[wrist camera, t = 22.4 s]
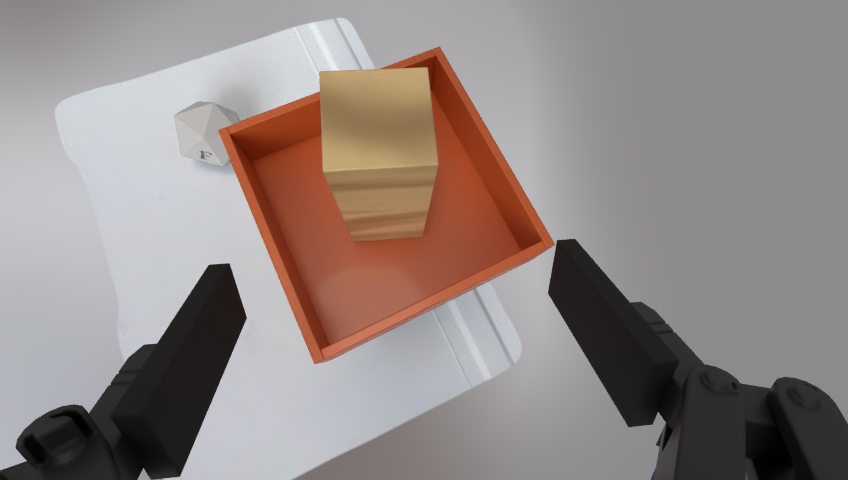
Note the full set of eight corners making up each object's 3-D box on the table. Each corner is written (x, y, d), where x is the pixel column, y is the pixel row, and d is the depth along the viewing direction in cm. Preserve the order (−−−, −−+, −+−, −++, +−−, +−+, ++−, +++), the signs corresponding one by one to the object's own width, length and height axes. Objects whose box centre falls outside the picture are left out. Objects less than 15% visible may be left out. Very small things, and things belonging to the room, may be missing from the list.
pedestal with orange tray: (468, 300, 57) (555, 244, 25) (363, 353, 54) (314, 364, 22) (418, 203, 60) (439, 46, 28) (317, 248, 57) (217, 129, 26)
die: (180, 151, 60) (160, 161, 51) (190, 91, 58) (171, 91, 49) (241, 166, 64) (232, 179, 55) (252, 110, 61) (245, 114, 52)
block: (422, 237, 29) (439, 164, 17) (353, 242, 28) (322, 171, 17) (416, 173, 30) (427, 66, 19) (350, 177, 30) (318, 70, 18)
